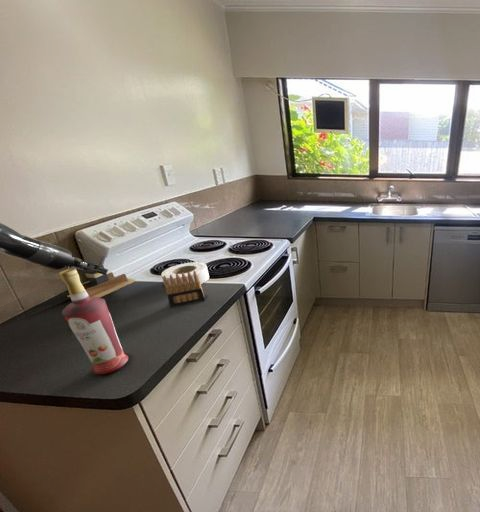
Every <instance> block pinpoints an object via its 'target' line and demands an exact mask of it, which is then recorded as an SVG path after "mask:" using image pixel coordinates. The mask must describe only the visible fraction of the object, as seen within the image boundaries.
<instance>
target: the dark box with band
mask: <svg viewBox="0 0 480 512" xmlns="http://www.w3.org/2000/svg"><path fill="white" fill-rule="evenodd" d="M99 265H100V267H102V268H105V267H104V265H103V264H99ZM93 267H94V266H92V269H93ZM84 274H85V276H86V278H87V281H89V282H90V285H91V287H93V286H95V285H98V284H100V283H103V282H105V281H107V280H109V278H108V276H107V274H108V272H107V273H106V275H103V274H100V273H97V272H92V271H89V270H87V271H85V272H84Z"/></svg>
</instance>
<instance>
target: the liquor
mask: <svg viewBox="0 0 480 512" xmlns="http://www.w3.org/2000/svg"><path fill="white" fill-rule="evenodd" d="M58 274H59V276H60V278H61V280H62V281H63V283H64V284H65V285H66V287H67V290H68V294H69V295H70V297H69V298H71V299H70V300H71V302H70V303H69V304H68V305H66V306H65V307H64V308H63V310H62V311H61V314H62V316H63V317H64V320H65V321H66V323H67V324H68V326H69V328H70V330H71V331H72V333H73V334H74V336H75V338H76V339H77V340H78V342H79V344H80V345H81V347H82V349H83V350H84V352H85V354H86V355H87V357H88V359H89V360H90V363H91V364H92V366H93V369H92V372H93V373H94V374H97V375H110V374H113V373H115V372H117V371H119V370H120V369H122V368H123V367H124V366H125V364H126V363H127V362H128V361H129V355H127V354H125V352H124V349H123V347H122V345H121V342H120V339H119V337H118V334H117V331H116V328H115V324H114V321H113V319H112V315H111V312H110V311H109V308H108V305H107V302H106V299H105V298H102V297H100V298H97V297H89V295H88V293H87V292H86V290H85V289H84V287H83V285H82V282H81V278H80V274H79V273H78V270H76V269H68V268H66V269H64V270H61V271H59V272H58Z"/></svg>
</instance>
